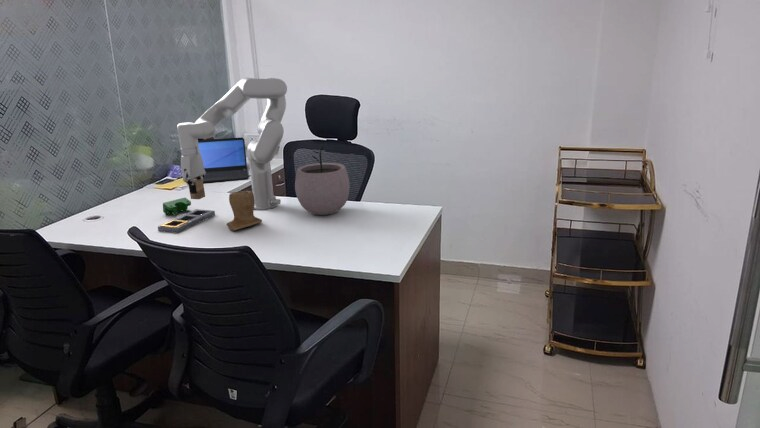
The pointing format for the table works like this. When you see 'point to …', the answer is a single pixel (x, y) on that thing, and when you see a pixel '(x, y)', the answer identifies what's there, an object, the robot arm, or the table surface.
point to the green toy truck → (176, 206)
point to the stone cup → (242, 210)
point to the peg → (198, 189)
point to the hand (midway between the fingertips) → (197, 191)
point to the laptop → (223, 159)
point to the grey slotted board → (181, 224)
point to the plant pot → (322, 187)
